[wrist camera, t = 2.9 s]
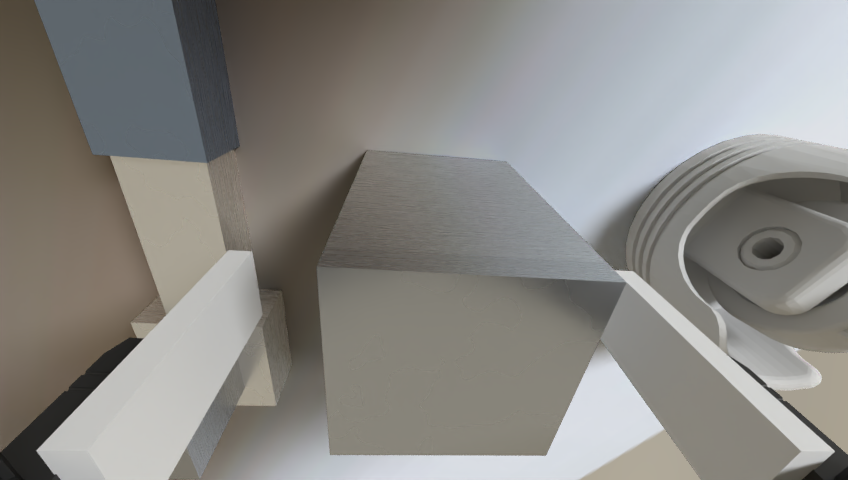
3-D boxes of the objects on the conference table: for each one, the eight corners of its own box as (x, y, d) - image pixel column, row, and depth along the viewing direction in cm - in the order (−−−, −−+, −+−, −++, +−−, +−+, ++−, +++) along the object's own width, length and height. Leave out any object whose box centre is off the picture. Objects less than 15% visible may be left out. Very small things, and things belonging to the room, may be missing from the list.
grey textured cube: (367, 150, 15) (316, 266, 7) (506, 161, 16) (626, 282, 7) (365, 269, 18) (329, 454, 10) (482, 275, 19) (545, 455, 10)
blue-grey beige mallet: (7, -209, 10) (-807, -758, 3) (218, -175, 10) (-113, -592, 4) (195, 361, 21) (99, 497, 15) (292, 363, 22) (242, 496, 15)
